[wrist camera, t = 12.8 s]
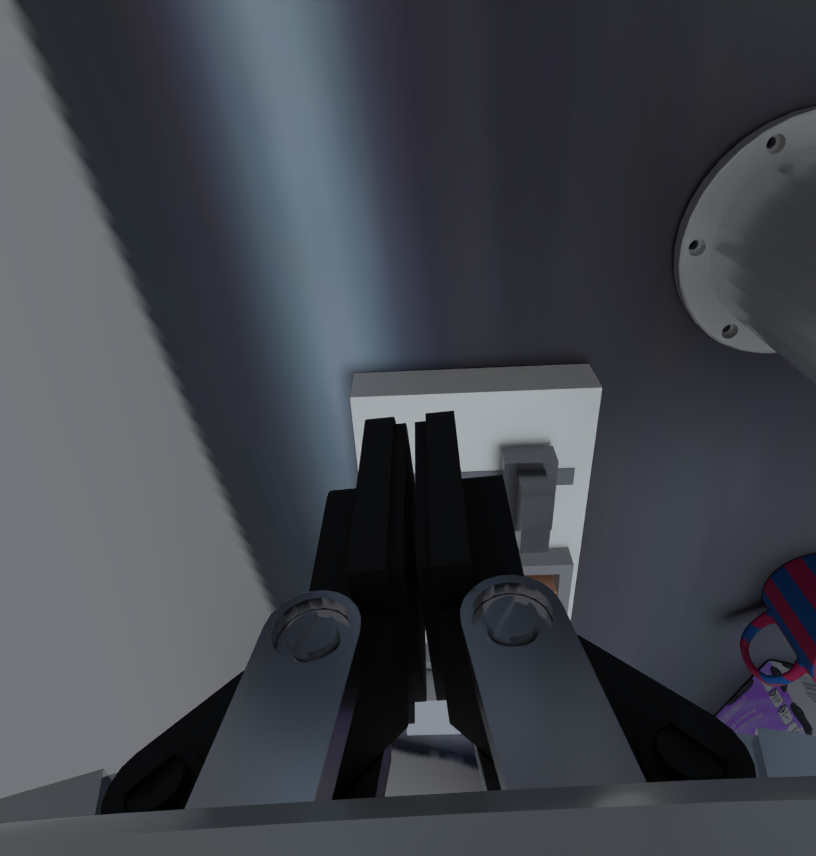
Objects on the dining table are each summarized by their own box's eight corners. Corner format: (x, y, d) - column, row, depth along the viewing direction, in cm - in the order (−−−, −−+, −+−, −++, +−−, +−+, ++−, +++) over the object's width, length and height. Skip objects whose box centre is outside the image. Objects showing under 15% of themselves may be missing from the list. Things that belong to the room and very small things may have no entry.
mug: (861, 598, 47) (924, 676, 41) (728, 638, 49) (770, 717, 44) (850, 540, 44) (916, 615, 38) (708, 585, 46) (751, 662, 41)
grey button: (460, 670, 45) (462, 699, 42) (460, 703, 47) (462, 733, 45) (404, 671, 45) (404, 701, 43) (407, 705, 47) (407, 735, 45)
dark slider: (552, 445, 36) (568, 488, 32) (546, 512, 38) (560, 558, 35) (500, 447, 36) (510, 490, 32) (498, 514, 38) (506, 560, 35)
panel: (588, 363, 37) (610, 401, 33) (550, 682, 52) (561, 733, 48) (354, 373, 37) (347, 411, 33) (386, 686, 53) (384, 737, 49)
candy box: (767, 656, 51) (903, 889, 37) (828, 670, 52) (983, 903, 38) (680, 748, 58) (767, 973, 44) (735, 759, 58) (837, 983, 44)
